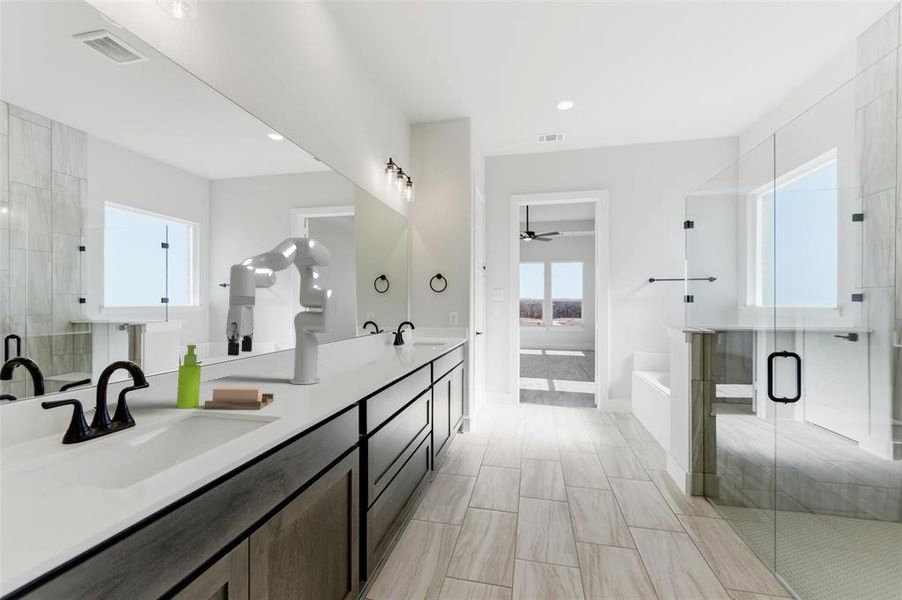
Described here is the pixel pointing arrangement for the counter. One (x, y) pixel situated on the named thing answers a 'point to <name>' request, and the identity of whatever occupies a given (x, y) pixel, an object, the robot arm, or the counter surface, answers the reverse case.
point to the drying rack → (240, 404)
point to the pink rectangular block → (237, 394)
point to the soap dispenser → (189, 381)
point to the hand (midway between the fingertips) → (240, 353)
